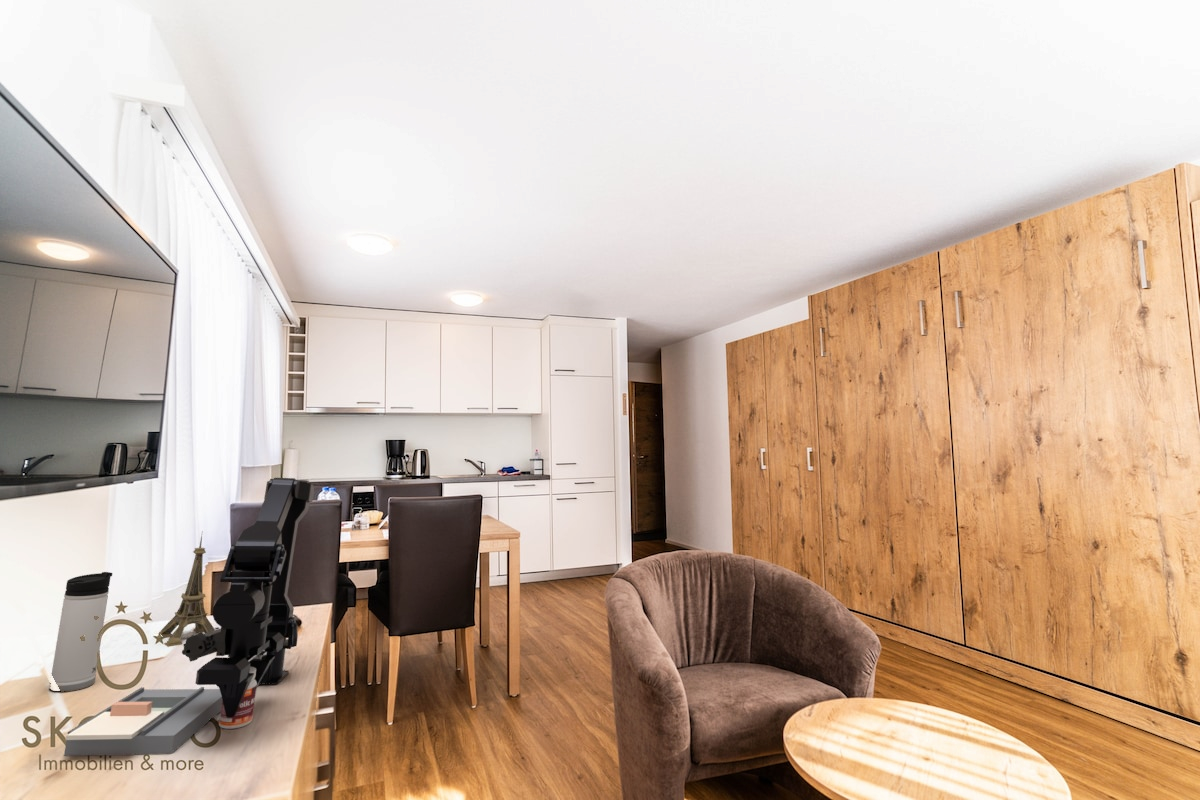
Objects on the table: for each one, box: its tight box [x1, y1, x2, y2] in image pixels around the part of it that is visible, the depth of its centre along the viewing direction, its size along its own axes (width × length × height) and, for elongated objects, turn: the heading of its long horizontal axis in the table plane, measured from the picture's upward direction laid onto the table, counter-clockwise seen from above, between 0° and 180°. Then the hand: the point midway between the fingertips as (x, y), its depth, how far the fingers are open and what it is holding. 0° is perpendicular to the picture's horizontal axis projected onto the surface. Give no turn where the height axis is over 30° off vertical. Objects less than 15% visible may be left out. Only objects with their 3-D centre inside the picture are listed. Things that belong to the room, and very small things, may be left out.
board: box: [63, 686, 222, 757], centre depth 92 cm, size 18×14×3 cm
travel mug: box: [51, 571, 113, 693], centre depth 107 cm, size 6×7×20 cm
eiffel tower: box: [158, 530, 216, 648], centre depth 139 cm, size 11×11×25 cm
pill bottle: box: [218, 667, 258, 730], centre depth 95 cm, size 5×5×8 cm
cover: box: [65, 701, 164, 741], centre depth 86 cm, size 8×8×2 cm
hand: (237, 710), depth 95 cm, fingers closed on pill bottle, 5 cm apart
